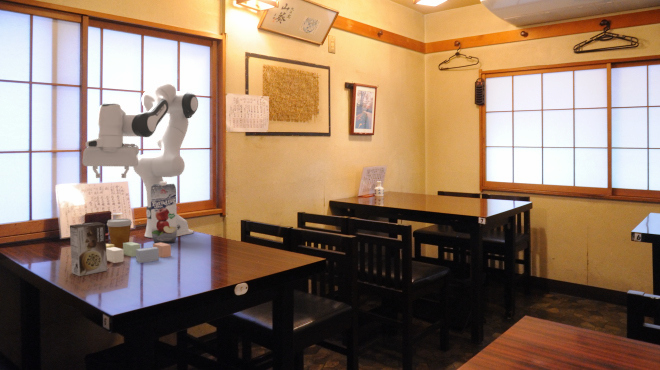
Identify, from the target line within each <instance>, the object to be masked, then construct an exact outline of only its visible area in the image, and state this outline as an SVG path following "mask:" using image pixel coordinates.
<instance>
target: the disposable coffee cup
mask: <svg viewBox="0 0 660 370" xmlns="http://www.w3.org/2000/svg"><path fill="white" fill-rule="evenodd" d="M132 224H133V221H132V219H130V218H112V219H108V220H107V223H106V226H107V228H108V229H107V230H108V234H109V242H110V244H114V247H117V248H120V249H123V243H127V242H130V237H131V225H132Z"/></svg>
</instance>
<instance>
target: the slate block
mask: <svg viewBox="0 0 660 370" xmlns="http://www.w3.org/2000/svg"><path fill="white" fill-rule="evenodd" d="M135 260H136V261H135V262H137V263H139V264H141V263H142V264H143V263H149V262H155V261H159V260H160V257H159V248H156V247H153V246H152V247H147V248H146V247H145V248H143V247H142V248H140V249H136V256H135Z"/></svg>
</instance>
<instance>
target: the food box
mask: <svg viewBox="0 0 660 370" xmlns="http://www.w3.org/2000/svg"><path fill="white" fill-rule="evenodd" d="M69 239H70V240H69V241H70V255H71V256H70V259H71V260H70V261H71V274H73V275H76V276H78V277H82V276H87V275H91V274H97V273H101V272H106V271H108V261H107V255H106V244H107V239H106V224H105V223H102V222H99V221H93V222H86V223H77V224H71V225H69Z"/></svg>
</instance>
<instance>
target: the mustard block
mask: <svg viewBox="0 0 660 370" xmlns="http://www.w3.org/2000/svg"><path fill="white" fill-rule="evenodd" d="M111 247H114V244H111V243H106V248H111Z"/></svg>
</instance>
